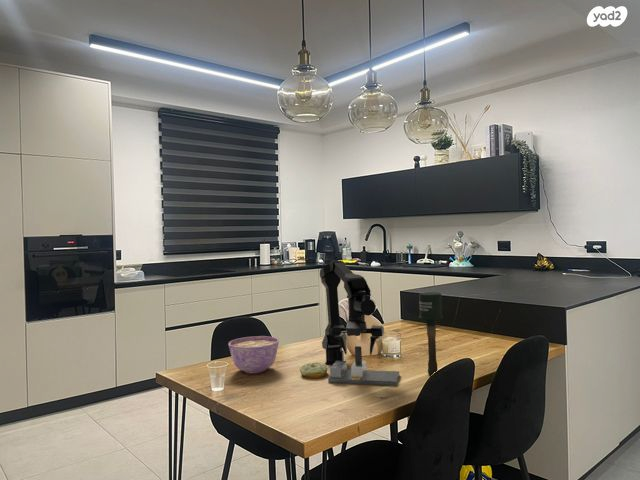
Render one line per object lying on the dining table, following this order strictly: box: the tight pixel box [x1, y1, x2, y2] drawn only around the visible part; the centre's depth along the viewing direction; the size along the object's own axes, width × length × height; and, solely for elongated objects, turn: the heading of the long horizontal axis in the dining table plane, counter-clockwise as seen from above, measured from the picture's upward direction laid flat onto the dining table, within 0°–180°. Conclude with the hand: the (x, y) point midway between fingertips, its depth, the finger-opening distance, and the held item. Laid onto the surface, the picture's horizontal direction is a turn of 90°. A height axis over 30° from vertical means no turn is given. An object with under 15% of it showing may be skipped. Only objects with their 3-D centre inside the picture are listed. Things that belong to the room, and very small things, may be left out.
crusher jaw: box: [350, 345, 367, 378], centre depth 172 cm, size 4×8×10 cm, turn 165°
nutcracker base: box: [327, 360, 400, 387], centre depth 172 cm, size 24×12×5 cm, turn 75°
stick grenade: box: [418, 291, 444, 377], centre depth 173 cm, size 8×9×30 cm
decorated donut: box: [299, 362, 328, 379], centre depth 180 cm, size 10×11×4 cm
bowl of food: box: [228, 335, 280, 374], centre depth 189 cm, size 20×20×12 cm
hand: (358, 354), depth 172 cm, fingers open, 9 cm apart
